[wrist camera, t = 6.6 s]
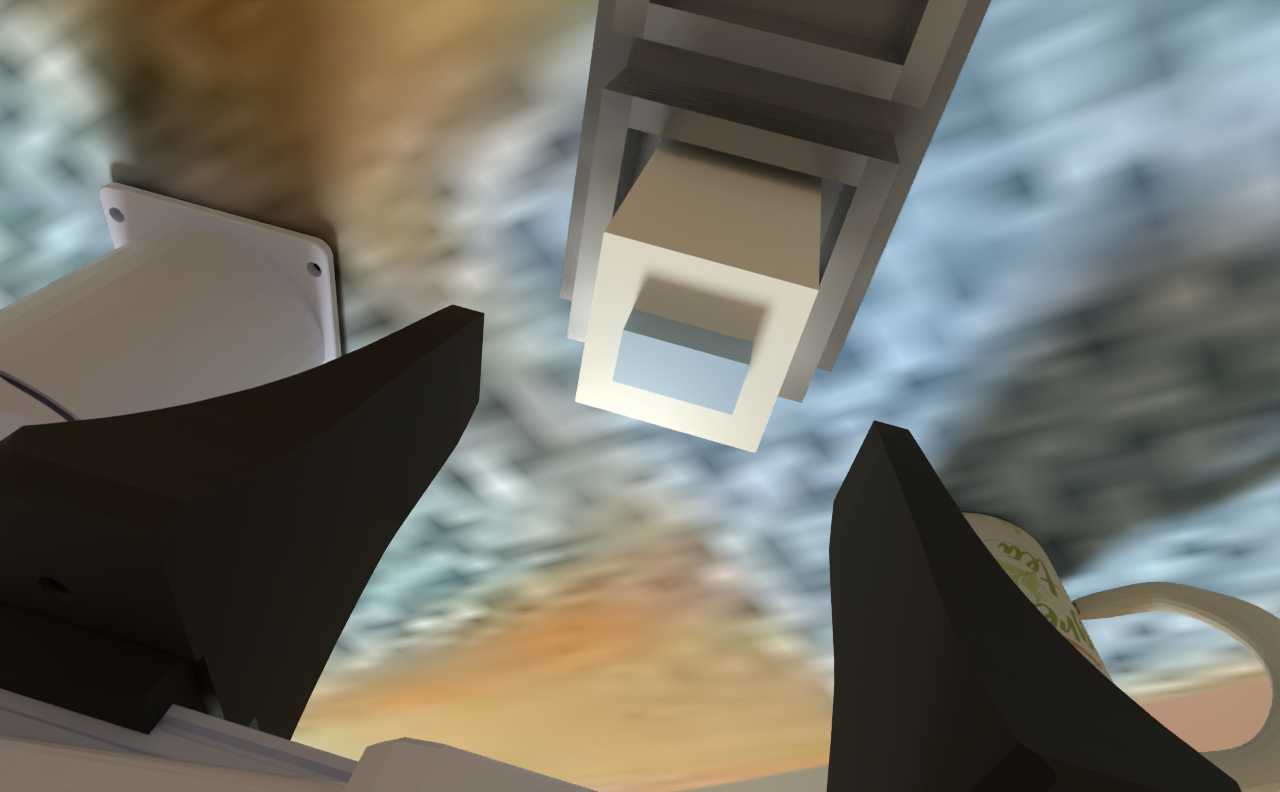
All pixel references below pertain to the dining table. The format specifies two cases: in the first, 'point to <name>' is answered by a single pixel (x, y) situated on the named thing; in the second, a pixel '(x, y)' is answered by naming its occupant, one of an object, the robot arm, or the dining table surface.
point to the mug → (1263, 767)
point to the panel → (771, 122)
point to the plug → (703, 293)
